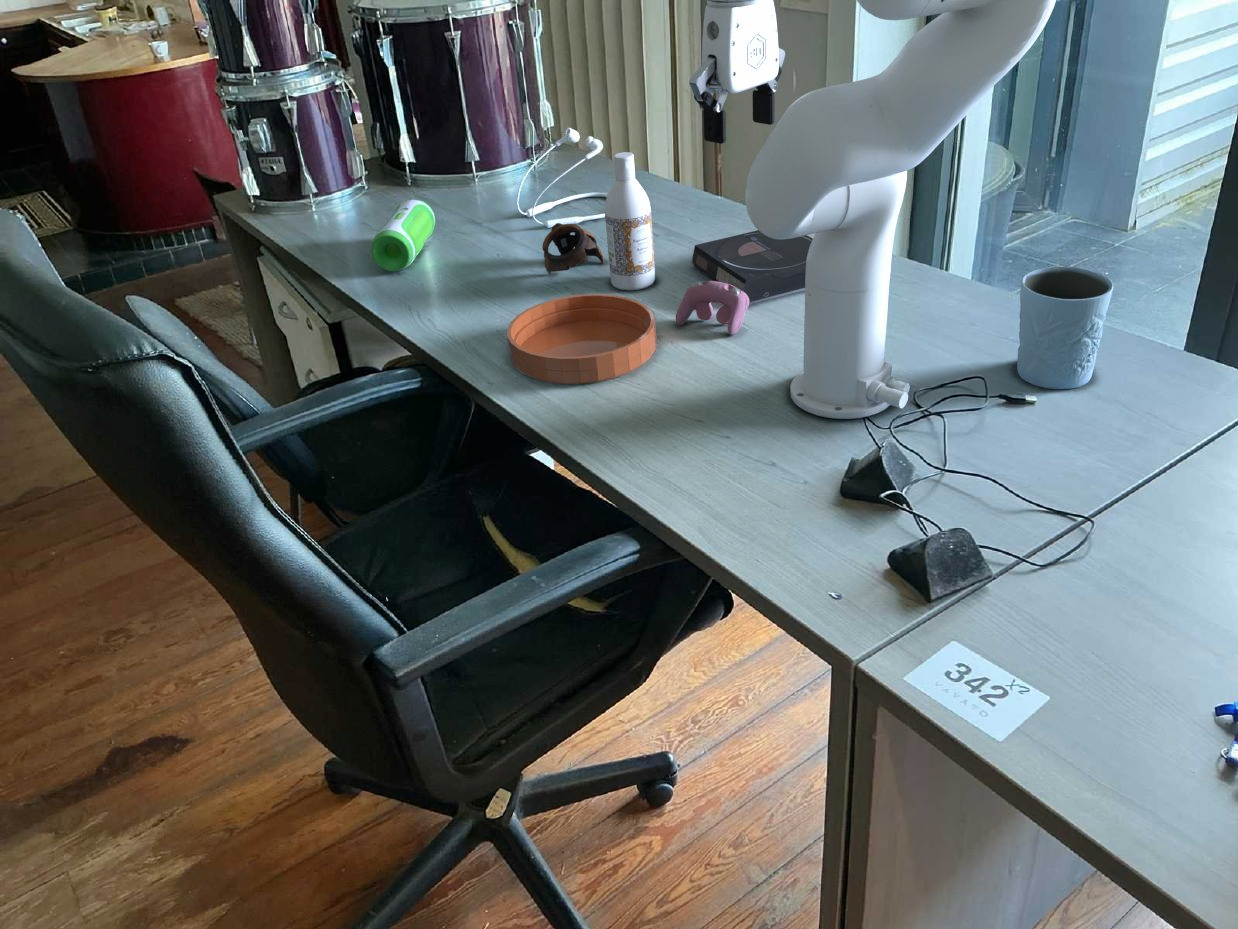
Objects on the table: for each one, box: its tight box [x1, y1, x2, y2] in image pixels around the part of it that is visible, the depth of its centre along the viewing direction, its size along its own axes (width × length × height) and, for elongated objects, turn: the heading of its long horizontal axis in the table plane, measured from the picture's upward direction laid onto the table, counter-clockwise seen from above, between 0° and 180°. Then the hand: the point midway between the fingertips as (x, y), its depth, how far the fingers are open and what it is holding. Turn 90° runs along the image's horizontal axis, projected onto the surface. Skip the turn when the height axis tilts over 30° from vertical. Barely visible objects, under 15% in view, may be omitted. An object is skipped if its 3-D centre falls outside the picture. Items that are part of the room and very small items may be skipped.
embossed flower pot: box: [1016, 266, 1114, 390], centre depth 125 cm, size 10×10×12 cm
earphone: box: [516, 127, 608, 229], centre depth 190 cm, size 14×17×18 cm
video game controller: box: [675, 280, 749, 336], centre depth 146 cm, size 10×5×7 cm, turn 58°
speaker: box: [371, 199, 436, 273], centre depth 178 cm, size 18×7×8 cm, turn 175°
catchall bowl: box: [506, 293, 658, 385], centre depth 143 cm, size 20×20×4 cm
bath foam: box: [604, 151, 656, 291], centre depth 157 cm, size 7×7×20 cm
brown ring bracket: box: [541, 223, 605, 276], centre depth 169 cm, size 12×10×8 cm
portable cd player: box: [691, 229, 814, 305], centre depth 160 cm, size 16×17×4 cm
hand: (739, 132), depth 134 cm, fingers open, 9 cm apart
